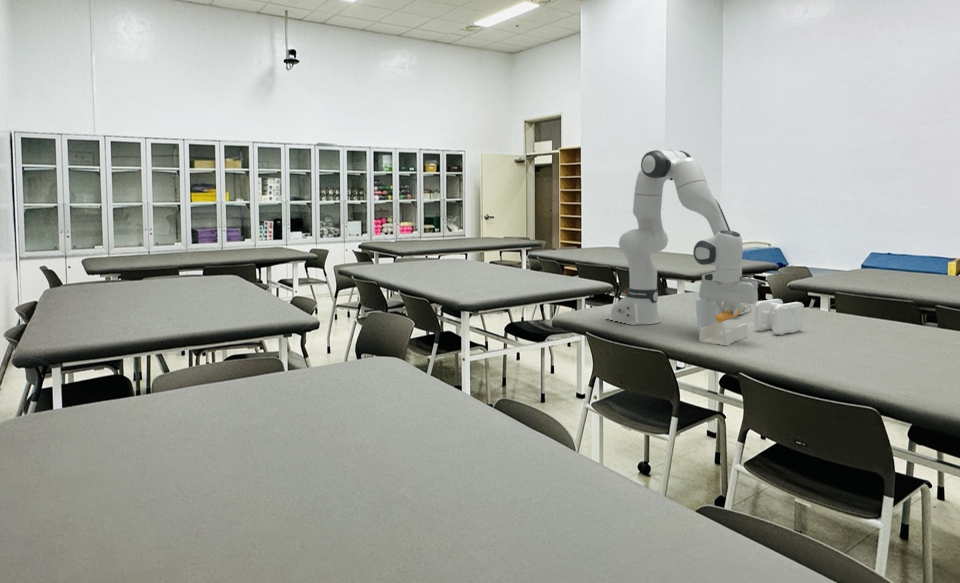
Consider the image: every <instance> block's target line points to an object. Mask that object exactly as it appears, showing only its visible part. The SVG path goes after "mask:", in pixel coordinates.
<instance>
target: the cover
mask: <svg viewBox="0 0 960 583" xmlns="http://www.w3.org/2000/svg"><path fill="white" fill-rule="evenodd" d="M695 308H696V309H695V311H696V326H697V327H696V329H700V328H702V327H705V326H707V325H710V324H712V323H715V322H717V321H716V319H715V317H716V315H718V314H720V313H719V309H718V307H717V305H716V301H712V300H707V298H704V299H701V298H700V299H698V300H696V301H695Z"/></svg>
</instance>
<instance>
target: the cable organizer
mask: <svg viewBox="0 0 960 583" xmlns="http://www.w3.org/2000/svg"><path fill="white" fill-rule="evenodd" d="M754 305H755V307H754V325H753V326H754V329H755V330H757V331H759V332H764V330H765V331H766V330H772V332H773V333H774V334H777V335H778V336H782V335H786V334H790V333H791V334H794V333H796V332H800V331H801V330H802V328H803V325H804V324H803V323H804V309H805V305H804V304H803V302H799V301H794V302H788V303H784V302H783V300H782V299H781V298H774V299H773V298H772V299H766V300H760V301H759V300H758V301H757V302H756V303H755V304H754Z"/></svg>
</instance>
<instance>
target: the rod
mask: <svg viewBox="0 0 960 583" xmlns="http://www.w3.org/2000/svg"><path fill="white" fill-rule="evenodd" d="M731 310H732V309H731ZM730 313H731V312H730V310H728V311H725V312H723V313H720V314H718V315H716V317H715V319H716V321H717V322H723V323H724V322H725V321H726V322H727V321H728V320H730V319H733V318H736V317H737V316H739V315H740V313H739V311H738V310H736V315H731V314H730Z"/></svg>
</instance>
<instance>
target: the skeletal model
mask: <svg viewBox="0 0 960 583" xmlns="http://www.w3.org/2000/svg"><path fill="white" fill-rule="evenodd" d="M721 306H722V308H725V310H724V311H725V312H726V311H729V310H731V309H734V307H735V306H734V302H723V301H722V303H721ZM748 308H749V311H751V310H752V308H751V304H744V303H740V306H739V307H738V308H737V310H738V311H739V314H741V313H745V311H746V310H748Z"/></svg>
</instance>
